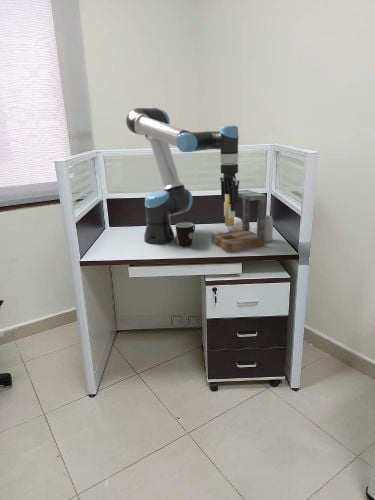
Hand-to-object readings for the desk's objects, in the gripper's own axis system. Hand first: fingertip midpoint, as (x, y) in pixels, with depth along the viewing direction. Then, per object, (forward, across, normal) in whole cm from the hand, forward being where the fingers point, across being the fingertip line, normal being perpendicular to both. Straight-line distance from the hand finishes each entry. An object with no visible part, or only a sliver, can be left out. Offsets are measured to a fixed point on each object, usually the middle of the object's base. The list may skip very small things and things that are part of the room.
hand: (229, 216), depth 157 cm
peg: (+4, 0, 0) cm, 4 cm away
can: (+14, -1, -18) cm, 23 cm away
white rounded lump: (+14, +14, -12) cm, 24 cm away
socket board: (+14, 0, -4) cm, 15 cm away
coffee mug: (+14, +10, +17) cm, 24 cm away
